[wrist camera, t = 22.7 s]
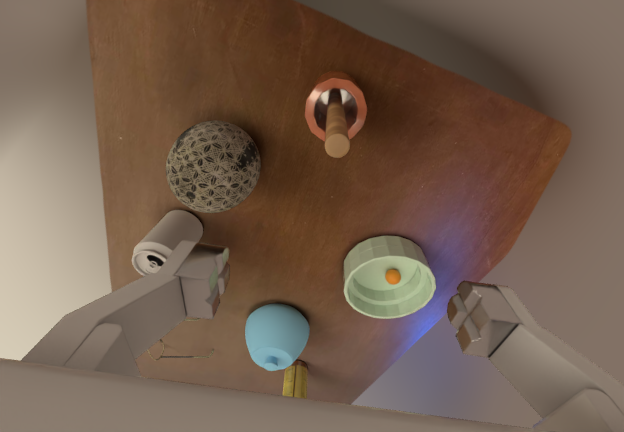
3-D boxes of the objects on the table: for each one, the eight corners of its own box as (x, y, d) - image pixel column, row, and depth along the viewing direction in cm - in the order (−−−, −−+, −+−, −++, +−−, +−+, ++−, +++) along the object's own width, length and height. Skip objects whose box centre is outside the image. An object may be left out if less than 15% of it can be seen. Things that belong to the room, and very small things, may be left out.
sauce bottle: (286, 369, 79) (274, 458, 62) (285, 357, 76) (272, 447, 59) (308, 371, 79) (302, 460, 62) (309, 359, 76) (303, 450, 59)
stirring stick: (345, 98, 39) (355, 144, 22) (335, 110, 39) (338, 162, 23) (334, 89, 38) (335, 128, 21) (325, 101, 39) (319, 147, 22)
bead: (405, 282, 53) (396, 285, 52) (393, 283, 56) (384, 286, 54) (401, 267, 54) (392, 269, 52) (389, 269, 56) (380, 271, 54)
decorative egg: (281, 166, 45) (262, 214, 33) (224, 192, 49) (186, 245, 36) (242, 97, 40) (200, 123, 27) (181, 132, 43) (118, 169, 31)
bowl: (442, 262, 54) (455, 287, 49) (382, 303, 62) (387, 329, 56) (383, 218, 49) (390, 240, 44) (326, 268, 57) (326, 292, 51)
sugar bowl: (322, 324, 67) (321, 372, 57) (279, 345, 73) (271, 392, 63) (278, 290, 61) (268, 337, 52) (236, 316, 67) (220, 363, 58)
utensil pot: (370, 94, 39) (379, 107, 31) (337, 133, 42) (338, 153, 34) (331, 59, 37) (331, 63, 29) (300, 102, 40) (293, 117, 32)
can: (212, 222, 52) (183, 266, 42) (194, 245, 56) (163, 290, 46) (175, 200, 50) (136, 240, 40) (159, 225, 53) (119, 267, 43)
